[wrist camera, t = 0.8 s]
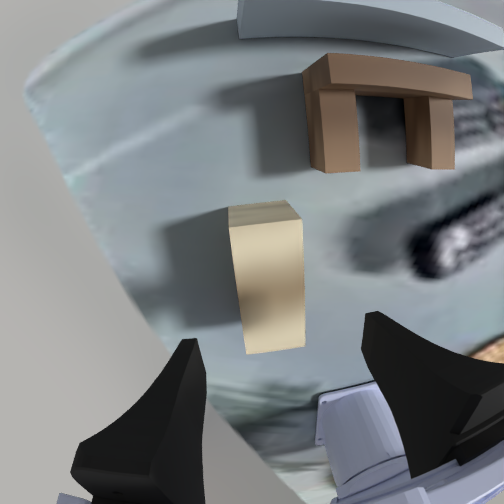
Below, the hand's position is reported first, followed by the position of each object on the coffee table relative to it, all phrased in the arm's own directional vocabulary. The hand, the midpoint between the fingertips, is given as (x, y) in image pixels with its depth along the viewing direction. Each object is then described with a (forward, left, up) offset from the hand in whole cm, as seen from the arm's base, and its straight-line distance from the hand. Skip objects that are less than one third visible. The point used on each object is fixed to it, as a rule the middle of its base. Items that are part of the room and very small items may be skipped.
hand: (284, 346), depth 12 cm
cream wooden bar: (0, 0, -9) cm, 9 cm away
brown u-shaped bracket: (+9, -8, -9) cm, 15 cm away
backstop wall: (+15, -8, -9) cm, 19 cm away
